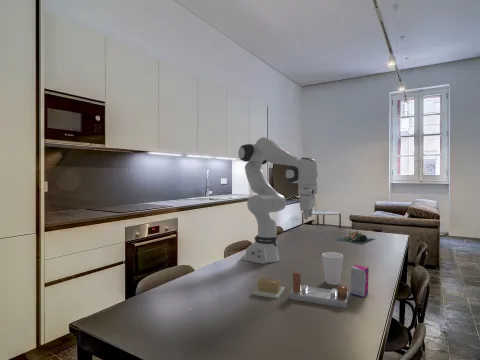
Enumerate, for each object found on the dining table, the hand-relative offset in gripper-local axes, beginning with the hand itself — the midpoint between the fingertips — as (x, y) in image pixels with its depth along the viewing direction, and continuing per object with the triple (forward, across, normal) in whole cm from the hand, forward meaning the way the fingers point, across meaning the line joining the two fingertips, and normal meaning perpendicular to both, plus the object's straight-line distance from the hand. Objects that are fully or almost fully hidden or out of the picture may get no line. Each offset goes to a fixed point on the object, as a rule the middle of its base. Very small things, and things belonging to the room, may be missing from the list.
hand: (308, 218), depth 148 cm
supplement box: (+29, +14, +24) cm, 40 cm away
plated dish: (+30, -97, +18) cm, 103 cm away
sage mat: (+29, +26, -12) cm, 41 cm away
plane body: (+29, +25, +9) cm, 39 cm away
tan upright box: (+28, +26, -12) cm, 40 cm away
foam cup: (+29, +4, +12) cm, 32 cm away
